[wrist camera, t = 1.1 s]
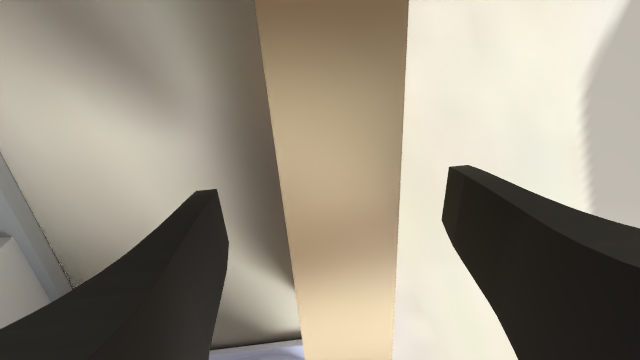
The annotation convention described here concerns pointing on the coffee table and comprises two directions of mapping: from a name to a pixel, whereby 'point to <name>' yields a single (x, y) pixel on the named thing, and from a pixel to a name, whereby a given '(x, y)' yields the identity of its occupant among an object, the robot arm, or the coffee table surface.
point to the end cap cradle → (24, 257)
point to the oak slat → (339, 163)
